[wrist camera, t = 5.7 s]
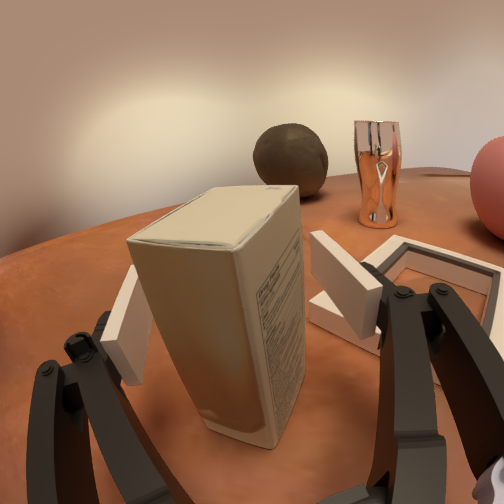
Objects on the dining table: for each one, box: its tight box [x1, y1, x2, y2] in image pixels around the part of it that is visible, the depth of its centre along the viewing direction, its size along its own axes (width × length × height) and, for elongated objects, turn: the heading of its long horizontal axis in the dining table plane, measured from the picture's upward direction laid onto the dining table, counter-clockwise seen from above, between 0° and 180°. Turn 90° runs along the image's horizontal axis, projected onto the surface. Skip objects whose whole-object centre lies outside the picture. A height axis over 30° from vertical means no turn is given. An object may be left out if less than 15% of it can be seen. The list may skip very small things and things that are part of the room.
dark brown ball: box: [253, 123, 328, 198], centre depth 52 cm, size 14×14×15 cm
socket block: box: [309, 235, 504, 386], centre depth 20 cm, size 16×16×2 cm
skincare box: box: [126, 185, 305, 449], centre depth 13 cm, size 6×4×12 cm
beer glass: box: [354, 121, 402, 228], centre depth 36 cm, size 7×7×15 cm
